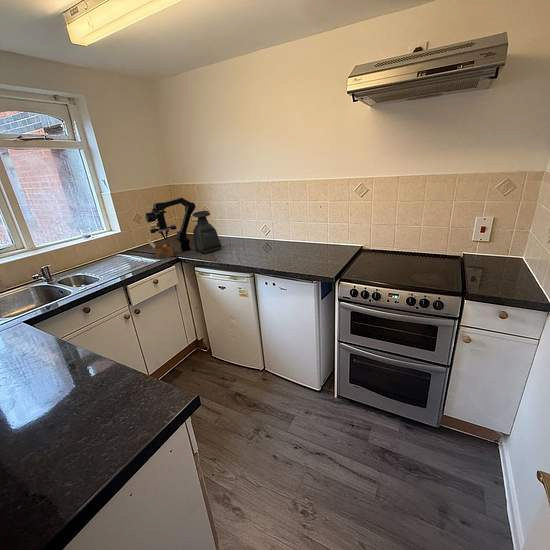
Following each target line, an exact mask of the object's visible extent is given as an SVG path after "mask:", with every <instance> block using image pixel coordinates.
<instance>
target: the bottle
mask: <svg viewBox="0 0 550 550" xmlns="http://www.w3.org/2000/svg"><path fill="white" fill-rule="evenodd" d="M191 216H192V217H194V218H197V223H196V224H195V225H194V228H193V230H192V236H193V248H194V249H195V250H196V251H197V252H198V253H199V252H200V253H201V254H203V255H204V254H209V253H213V252H215V251H216V252H217V251H219V250H220V249H221V247H222V244H221V240H220V238H219V234H218V232H217V229H216V228H215V227H214V226H213V225H212V224H211V223H210V222H209V220H208V219H207V217H208V216H211V212H209V211H208V210H199V211H195V212H193V213H192V214H191Z"/></svg>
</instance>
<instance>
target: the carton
mask: <svg viewBox="0 0 550 550" xmlns="http://www.w3.org/2000/svg"><path fill="white" fill-rule="evenodd" d="M163 245H167V247H166V248H163ZM154 252H155V257H156V260H160V259H164V258H172V257H175V256H176V254H175V248H174V245H173V242H170V243H164V244H159V245H155V248H154Z"/></svg>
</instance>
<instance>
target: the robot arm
mask: <svg viewBox="0 0 550 550" xmlns="http://www.w3.org/2000/svg"><path fill="white" fill-rule="evenodd" d="M179 204H180V205H182V206H184V216H183V219H182V223H181V227H180V230H179V231H178V230H177V225H176V224H172V225H170V226H168V224H167V221H166V217H165V214H166V213H167V211H166V210H165V209H167V208H169V207H173V206H176V205H177V206H178V205H179ZM195 210H196V204H195V202H193V201H192V202H191V201H189V200H187V199H185V198H184V197H178V198H175V199H170V200H167V201H163V202H162V201H161V202H160V201H159V202H154V203H153V204H152V210H151V212H145V216H144V217H145V221H146V223H147V224H148V223H152V222H156V227H151V228H150V230H149V231H150V234H155V233H157V232H158V234H160V235H161V236H162V238H163V239H164V240H165V241H167V240H168V236H169V232H170V230H172V231H175V230H177V231H176V235H175V239H176V240H177V241H178V242H179V243H180V250H181V251H182V252H187V251H188V252H189V251H191V250H192V249H191V247H190V242H191V241H190V240H191V239H189V238H188V237H187V236H188V235H187V234H188V233H187V230H188V227H189V223H190V219H191V216H192V214H194V211H195ZM164 232H165V234H164Z"/></svg>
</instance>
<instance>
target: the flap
mask: <svg viewBox="0 0 550 550" xmlns="http://www.w3.org/2000/svg"><path fill="white" fill-rule="evenodd" d="M147 244H148V245H149V246H150V247H151V248H152V249H155V246H156V244H154V242H153V241H152V240H151V239H148V240H147Z"/></svg>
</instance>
